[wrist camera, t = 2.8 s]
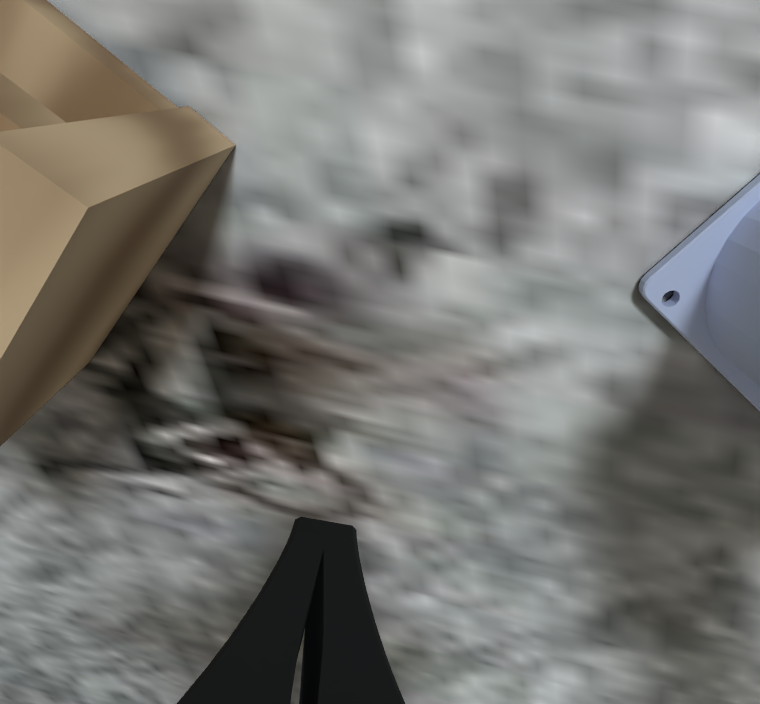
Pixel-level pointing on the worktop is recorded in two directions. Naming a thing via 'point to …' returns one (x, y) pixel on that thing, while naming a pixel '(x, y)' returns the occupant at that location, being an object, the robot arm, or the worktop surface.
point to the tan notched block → (80, 196)
